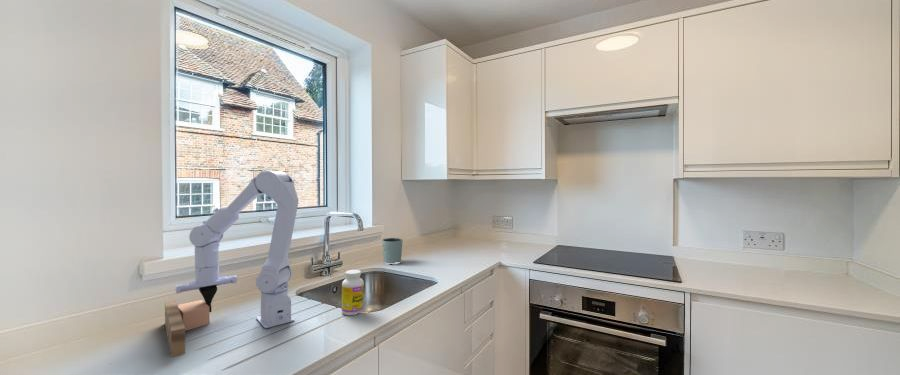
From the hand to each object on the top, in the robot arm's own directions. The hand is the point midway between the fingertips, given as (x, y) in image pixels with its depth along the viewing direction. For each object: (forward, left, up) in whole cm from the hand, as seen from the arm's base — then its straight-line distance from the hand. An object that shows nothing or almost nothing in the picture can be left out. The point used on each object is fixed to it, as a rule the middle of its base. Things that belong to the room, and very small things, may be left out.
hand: (207, 311), depth 98 cm
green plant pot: (+21, -78, -3) cm, 81 cm away
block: (0, +4, -2) cm, 4 cm away
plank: (-8, +8, -2) cm, 12 cm away
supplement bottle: (-23, -34, -3) cm, 41 cm away
